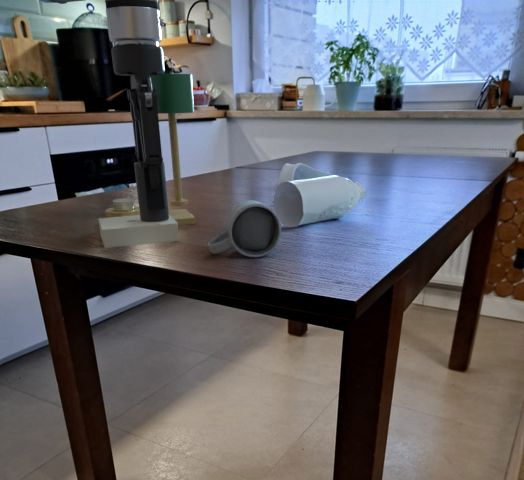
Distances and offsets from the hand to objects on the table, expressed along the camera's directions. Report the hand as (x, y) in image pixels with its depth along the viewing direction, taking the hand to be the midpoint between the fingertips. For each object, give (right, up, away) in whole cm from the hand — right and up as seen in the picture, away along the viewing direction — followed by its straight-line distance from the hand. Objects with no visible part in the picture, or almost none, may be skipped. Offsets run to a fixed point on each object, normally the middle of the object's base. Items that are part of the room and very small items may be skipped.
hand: (153, 205), depth 86 cm
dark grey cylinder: (0, -2, +1) cm, 2 cm away
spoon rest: (+28, +15, +42) cm, 53 cm away
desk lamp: (+2, +4, +13) cm, 13 cm away
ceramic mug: (+15, -9, -7) cm, 19 cm away
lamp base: (-3, 0, +12) cm, 13 cm away
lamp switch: (-7, +2, +9) cm, 12 cm away
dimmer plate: (-3, -5, +1) cm, 6 cm away
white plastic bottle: (+29, +1, +12) cm, 31 cm away
